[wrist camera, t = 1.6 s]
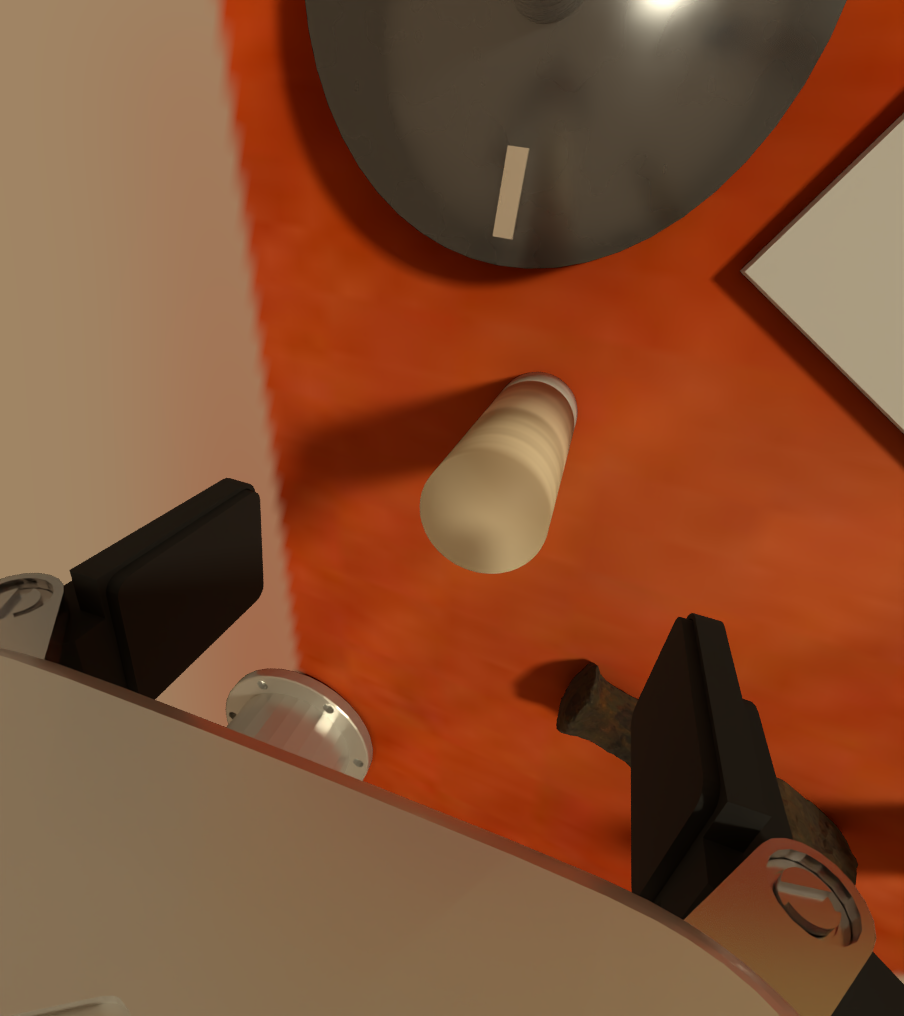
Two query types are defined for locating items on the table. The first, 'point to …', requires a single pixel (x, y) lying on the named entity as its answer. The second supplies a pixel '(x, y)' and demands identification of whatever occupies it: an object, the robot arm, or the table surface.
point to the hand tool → (607, 723)
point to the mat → (849, 272)
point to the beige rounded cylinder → (502, 478)
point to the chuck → (558, 111)
